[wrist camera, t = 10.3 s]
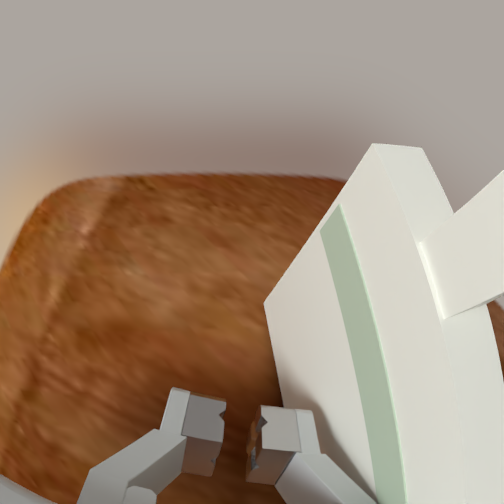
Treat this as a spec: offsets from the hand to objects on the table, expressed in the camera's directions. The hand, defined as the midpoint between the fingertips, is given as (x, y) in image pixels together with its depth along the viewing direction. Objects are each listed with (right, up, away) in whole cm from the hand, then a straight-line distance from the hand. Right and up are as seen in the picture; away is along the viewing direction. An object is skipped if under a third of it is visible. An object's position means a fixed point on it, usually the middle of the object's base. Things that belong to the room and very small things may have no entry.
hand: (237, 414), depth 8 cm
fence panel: (+3, -6, +2) cm, 7 cm away
